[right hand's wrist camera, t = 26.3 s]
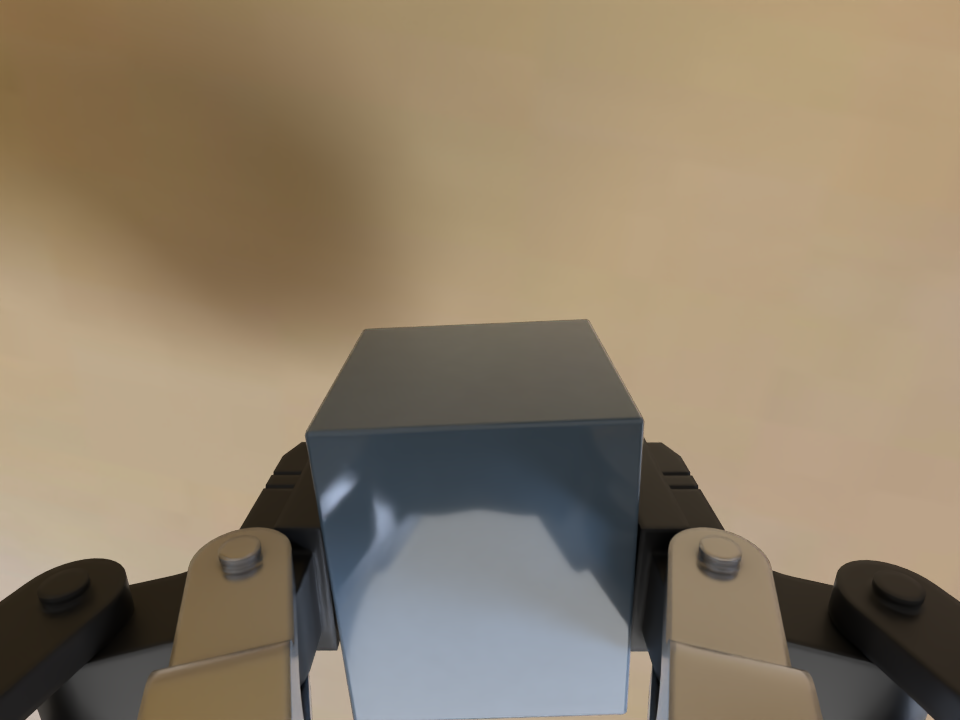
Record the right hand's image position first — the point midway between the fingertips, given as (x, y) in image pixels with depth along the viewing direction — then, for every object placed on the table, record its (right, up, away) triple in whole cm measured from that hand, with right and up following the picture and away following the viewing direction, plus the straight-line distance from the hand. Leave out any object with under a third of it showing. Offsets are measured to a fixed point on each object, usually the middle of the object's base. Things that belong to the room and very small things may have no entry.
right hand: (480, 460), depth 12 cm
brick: (0, 0, 0) cm, 1 cm away
